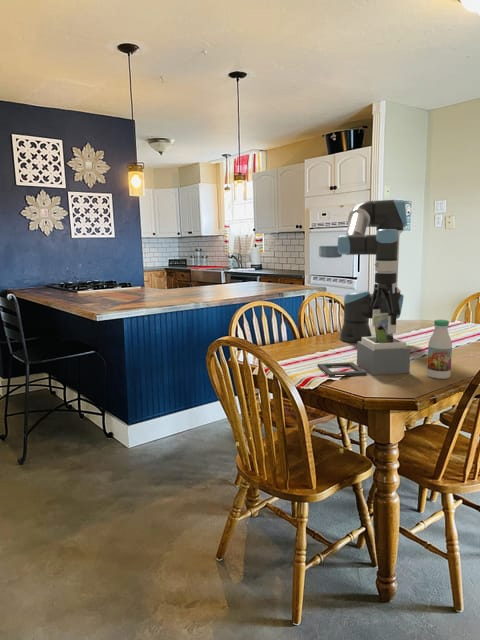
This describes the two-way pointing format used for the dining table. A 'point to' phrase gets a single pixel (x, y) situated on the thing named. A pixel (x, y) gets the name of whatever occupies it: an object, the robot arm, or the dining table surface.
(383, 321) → the beverage can
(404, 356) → the tray
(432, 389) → the dining table surface
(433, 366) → the milk bottle
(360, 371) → the gray square frame
